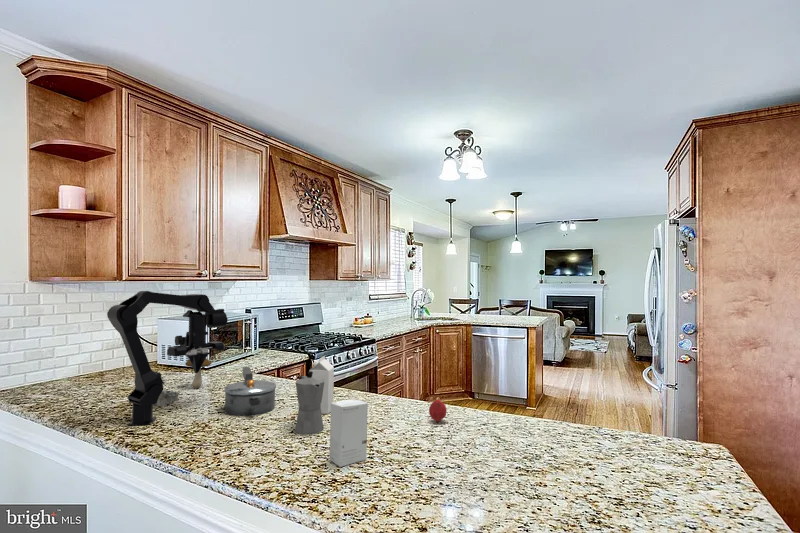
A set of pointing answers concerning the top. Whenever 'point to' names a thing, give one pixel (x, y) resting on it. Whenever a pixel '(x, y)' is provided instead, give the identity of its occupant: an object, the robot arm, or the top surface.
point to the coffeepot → (309, 404)
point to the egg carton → (167, 397)
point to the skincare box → (348, 432)
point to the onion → (437, 410)
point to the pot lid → (249, 385)
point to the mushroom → (198, 378)
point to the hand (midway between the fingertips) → (196, 372)
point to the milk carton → (325, 382)
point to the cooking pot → (249, 404)
